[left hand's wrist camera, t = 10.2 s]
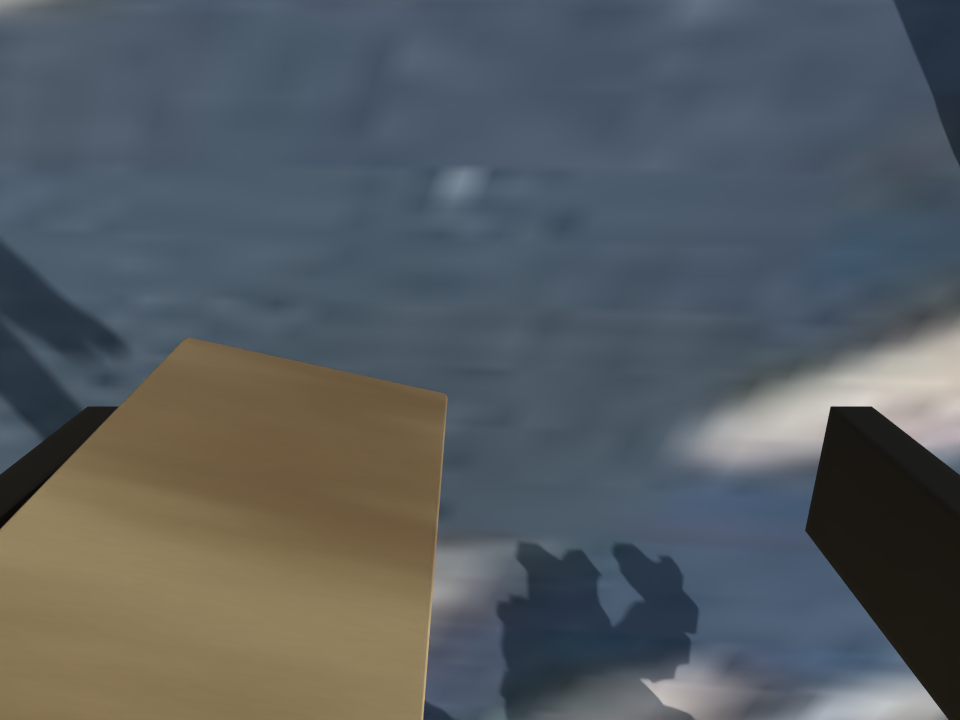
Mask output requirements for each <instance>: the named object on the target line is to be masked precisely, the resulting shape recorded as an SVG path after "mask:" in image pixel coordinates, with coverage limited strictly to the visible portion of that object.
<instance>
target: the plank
mask: <svg viewBox="0 0 960 720" xmlns="http://www.w3.org/2000/svg"><path fill="white" fill-rule="evenodd" d="M446 409H447V395H446V394H444V393H440V392H436V391H431V390H427V389H422V388H417V387H413V386H408V385H404V384H399V383H395V382H390V381H386V380H381V379H376V378H372V377H367V376H363V375H358V374H354V373H349V372H345V371H340V370H335V369H331V368H326V367H322V366H317V365H313V364H308V363H303V362H299V361H294V360H290V359H285V358H281V357H276V356H272V355H267V354H262V353H258V352H253V351H249V350H244V349H240V348H235V347H231V346H226V345H221V344H217V343H212V342H208V341H203V340H199V339H194V338H185V339H184V340H183V341H182V342H181V343H180V344H179V345H178V346H177V347H176V348H175V349H174V350H173V351H172V352H171V353H170V354H169V355H168V356H167V357H166V358H165V359H164V360H163V361H162V363H161V364H160V365H159V366H158V367H157V368H156V369H155V370H154V371H153V372H152V373H151V374H150V375H149V376H148V377H147V378H146V379H145V380H144V381H143V382H142V383H141V384H140V385H139V386H138V387H137V388H136V389H135V390H134V391H133V392H132V394H131V395H130V396H129V397H128V398H127V399H126V400H125V401H124V402H123V403H122V404H121V405H120V406H119V407H118V408H117V409H116V410H115V411H114V412H113V413H112V414H111V415H110V416H109V417H108V418H107V419H106V420H105V421H104V422H103V423H102V425H101V426H100V427H99V428H98V429H97V430H96V431H95V432H94V433H93V434H92V435H91V436H90V437H89V438H88V439H87V440H86V441H85V442H84V443H83V444H82V445H81V446H80V447H79V448H78V449H77V450H76V451H75V452H74V453H73V455H72V456H71V457H70V458H69V459H68V460H67V461H66V462H65V463H64V464H63V465H62V466H61V467H60V468H59V469H58V470H57V471H56V472H55V473H54V474H53V475H52V476H51V477H50V478H49V479H48V480H47V481H46V482H45V483H44V484H43V486H42V487H41V488H40V489H39V490H38V491H37V492H36V493H35V494H34V495H33V496H32V497H31V498H30V499H29V500H28V501H27V502H26V503H25V504H24V505H23V506H22V507H21V508H20V509H19V510H18V511H17V512H16V513H15V514H14V515H13V517H12V518H11V519H10V520H9V521H8V522H7V523H6V524H5V525H4V526H3V527H2V528H1V529H0V720H423V712H424V699H425V686H426V673H427V660H428V646H429V633H430V620H431V607H432V593H433V580H434V567H435V554H436V541H437V527H438V514H439V501H440V488H441V475H442V461H443V448H444V435H445V422H446Z"/></svg>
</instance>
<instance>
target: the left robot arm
mask: <svg viewBox="0 0 960 720" xmlns="http://www.w3.org/2000/svg"><path fill="white" fill-rule="evenodd" d="M117 408H118V407H87V408H85V409H84V410H83V411H82V412H80V413H79V414H78V415H76V416H75V417H74V418H73V419H71V420H70V421H69V422H67V423H66V424H65V425H64V426H62V427H61V428H60V429H58V430H57V431H56V432H55V433H53V434H52V435H51V436H49V437H48V438H47V439H46V440H44V441H43V442H42V443H40V444H39V445H38V446H37V447H35V448H34V449H33V450H31V451H30V452H29V453H28V454H26V455H25V456H24V457H22V458H21V459H20V460H19V461H17V462H16V463H15V464H13V465H12V466H11V467H10V468H8V469H7V470H6V471H4V472H3V473H2V474H1V475H0V529H1V528H2V527H3V526H4V525H5V524H6V523H7V522H8V521H9V520H10V519H11V518H12V517H13V515H14V514H15V513H16V512H17V511H18V510H19V509H20V508H21V507H22V506H23V505H24V504H25V503H26V502H27V501H28V500H29V499H30V498H31V497H32V496H33V495H34V494H35V493H36V492H37V491H38V490H39V489H40V488H41V487H42V486H43V484H44V483H45V482H46V481H47V480H48V479H49V478H50V477H51V476H52V475H53V474H54V473H55V472H56V471H57V470H58V469H59V468H60V467H61V466H62V465H63V464H64V463H65V462H66V461H67V460H68V459H69V458H70V457H71V456H72V455H73V453H74V452H75V451H76V450H77V449H78V448H79V447H80V446H81V445H82V444H83V443H84V442H85V441H86V440H87V439H88V438H89V437H90V436H91V435H92V434H93V433H94V432H95V431H96V430H97V429H98V428H99V427H100V426H101V425H102V423H103V422H104V421H105V420H106V419H107V418H108V417H109V416H110V415H111V414H112V413H113V412H114V411H115V410H116V409H117ZM805 531H806V532H807V534H808V535H809V536H810V538H811V539H812V540H813V541H814V543H815V544H816V545H817V547H818V548H819V549H820V551H821V552H822V553H823V555H824V556H825V557H826V559H827V560H828V561H829V563H830V564H831V565H832V567H833V568H834V569H835V570H836V572H837V573H838V574H839V576H840V577H841V578H842V580H843V581H844V582H845V584H846V585H847V586H848V588H849V589H850V590H851V592H852V593H853V594H854V596H855V597H856V598H857V600H858V601H859V602H860V603H861V605H862V606H863V607H864V609H865V610H866V611H867V613H868V614H869V615H870V617H871V618H872V619H873V621H874V622H875V623H876V625H877V626H878V627H879V629H880V630H881V631H882V632H883V634H884V635H885V636H886V638H887V639H888V640H889V642H890V643H891V644H892V646H893V647H894V648H895V650H896V651H897V652H898V654H899V655H900V656H901V658H902V659H903V660H904V661H905V663H906V664H907V665H908V667H909V668H910V669H911V671H912V672H913V673H914V675H915V676H916V677H917V679H918V680H919V681H920V683H921V684H922V685H923V687H924V688H925V689H926V690H927V692H928V693H929V694H930V696H931V697H932V698H933V700H934V701H935V702H936V704H937V705H938V706H939V708H940V709H941V710H942V712H943V713H944V714H945V716H946V717H947V718H948V719H949V720H960V475H959V474H958V473H956V472H955V471H954V470H952V469H951V468H950V467H949V466H947V465H946V464H945V463H943V462H942V461H941V460H940V459H938V458H937V457H936V456H935V455H933V454H932V453H931V452H929V451H928V450H927V449H926V448H924V447H923V446H922V445H920V444H919V443H918V442H917V441H915V440H914V439H913V438H911V437H910V436H909V435H908V434H906V433H905V432H904V431H902V430H901V429H900V428H899V427H897V426H896V425H895V424H893V423H892V422H891V421H890V420H888V419H887V418H886V417H884V416H883V415H882V414H881V413H879V412H878V411H877V410H875V409H874V408H873V407H831V408H830V413H829V418H828V423H827V427H826V432H825V437H824V442H823V447H822V452H821V457H820V461H819V466H818V471H817V476H816V481H815V486H814V491H813V495H812V500H811V505H810V510H809V515H808V520H807V525H806V529H805Z"/></svg>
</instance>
